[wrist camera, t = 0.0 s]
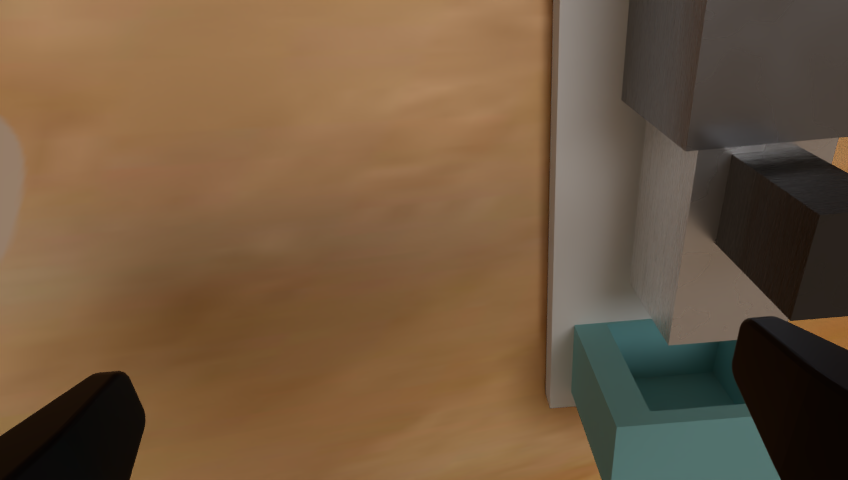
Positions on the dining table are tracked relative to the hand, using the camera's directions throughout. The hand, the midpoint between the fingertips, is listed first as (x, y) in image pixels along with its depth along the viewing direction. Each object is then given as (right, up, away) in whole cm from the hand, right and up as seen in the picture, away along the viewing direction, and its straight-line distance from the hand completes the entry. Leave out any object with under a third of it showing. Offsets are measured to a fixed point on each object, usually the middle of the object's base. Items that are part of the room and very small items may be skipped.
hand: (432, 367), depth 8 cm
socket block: (+11, -3, +19) cm, 22 cm away
